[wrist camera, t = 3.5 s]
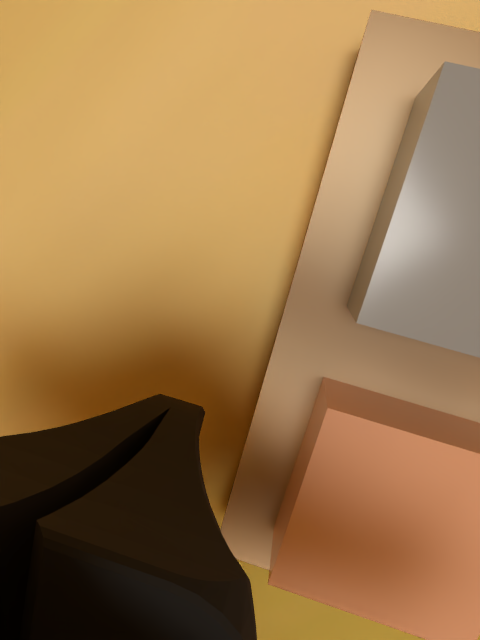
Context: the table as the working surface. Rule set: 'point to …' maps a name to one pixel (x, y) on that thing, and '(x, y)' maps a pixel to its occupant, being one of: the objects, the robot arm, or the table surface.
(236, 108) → the table surface
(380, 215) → the tile slate
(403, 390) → the board
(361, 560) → the tile terracotta
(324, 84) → the table surface
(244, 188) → the table surface
